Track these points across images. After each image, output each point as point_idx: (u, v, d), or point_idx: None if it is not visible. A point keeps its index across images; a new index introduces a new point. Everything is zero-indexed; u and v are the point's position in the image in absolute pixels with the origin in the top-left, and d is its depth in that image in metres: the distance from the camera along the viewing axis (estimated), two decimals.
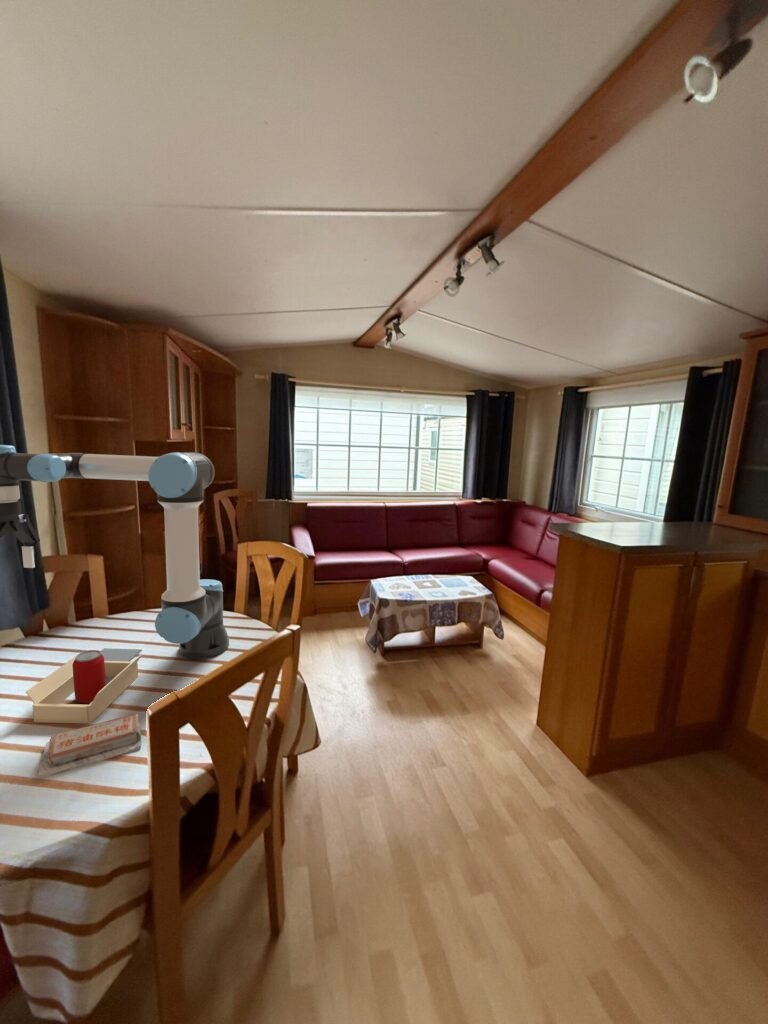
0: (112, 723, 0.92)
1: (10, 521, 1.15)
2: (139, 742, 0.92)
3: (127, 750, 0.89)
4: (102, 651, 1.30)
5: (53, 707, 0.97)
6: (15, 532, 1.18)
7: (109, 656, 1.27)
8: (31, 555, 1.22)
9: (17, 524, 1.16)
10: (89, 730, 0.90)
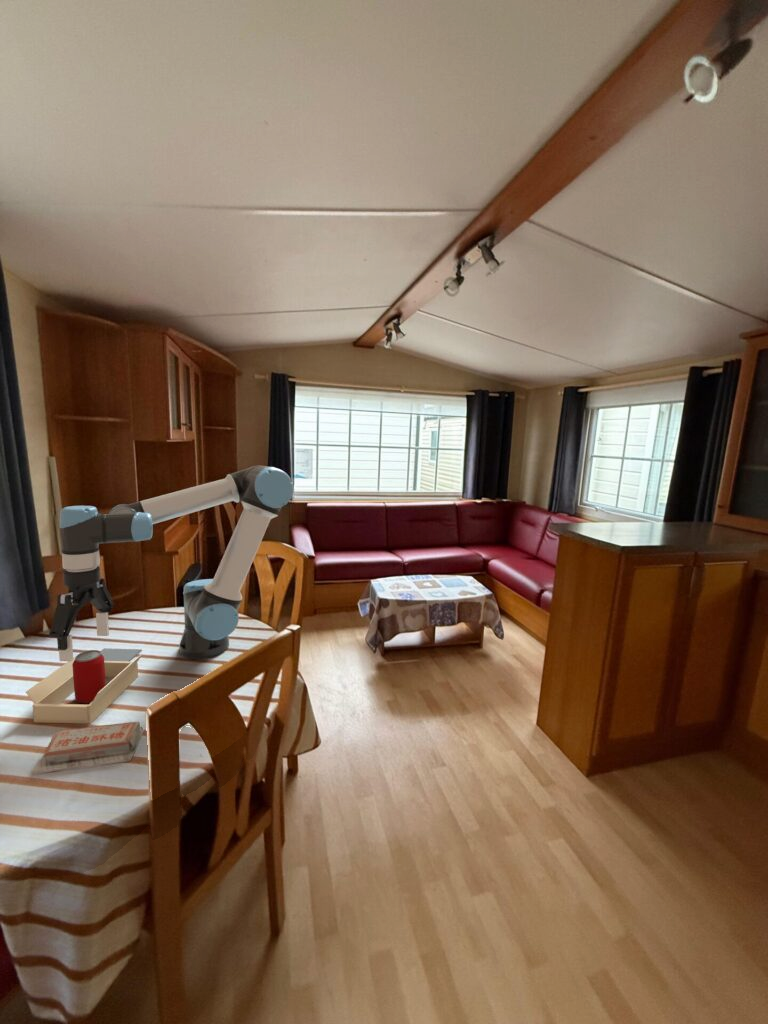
0: (111, 728, 0.91)
1: (89, 589, 1.04)
2: (130, 753, 0.88)
3: (117, 760, 0.86)
4: (102, 651, 1.30)
5: (53, 707, 0.97)
6: (92, 599, 1.07)
7: (109, 656, 1.27)
8: (106, 622, 1.11)
9: (95, 592, 1.05)
10: (89, 732, 0.89)
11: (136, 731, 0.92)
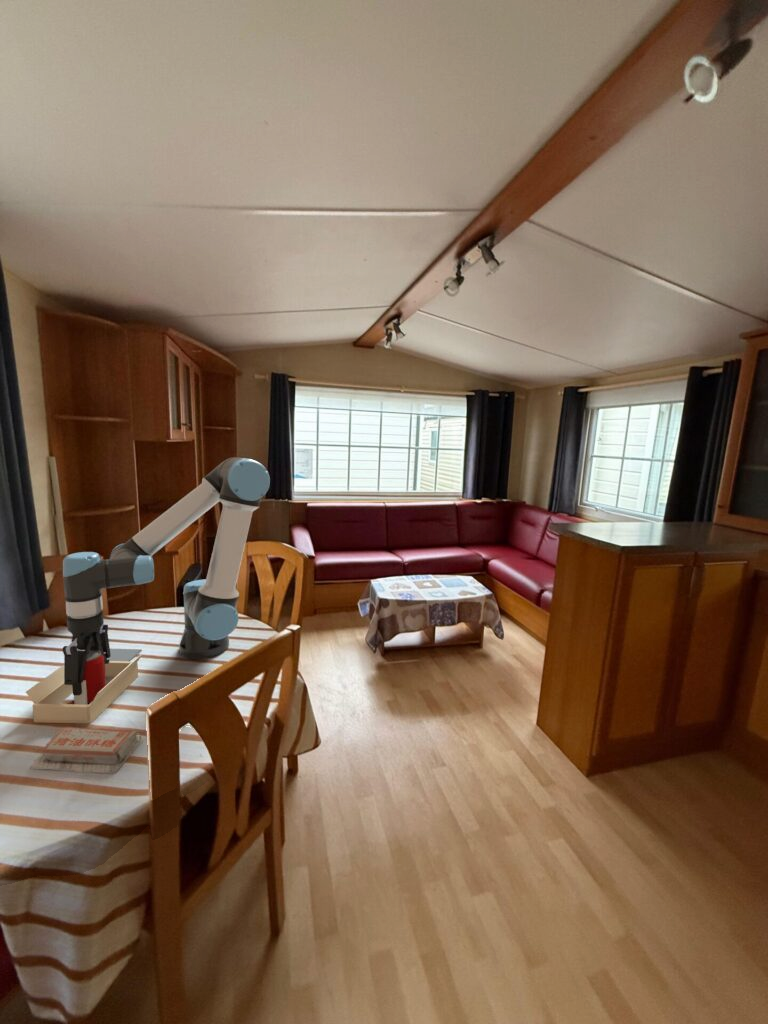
0: (108, 734, 0.89)
1: (92, 630, 1.05)
2: (117, 765, 0.85)
3: (103, 770, 0.84)
4: None
5: (53, 707, 0.97)
6: (92, 646, 1.07)
7: None
8: None
9: (98, 636, 1.07)
10: (87, 734, 0.88)
11: (129, 741, 0.88)
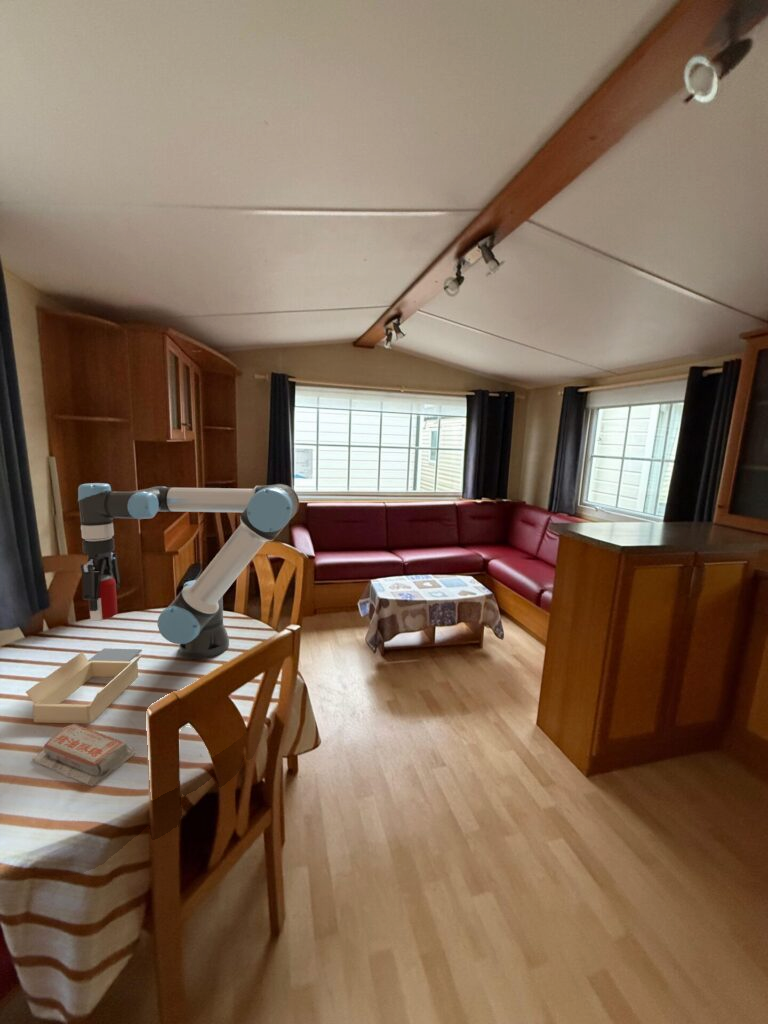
0: (101, 740, 0.87)
1: (105, 554, 1.17)
2: (97, 778, 0.81)
3: (83, 780, 0.81)
4: (102, 651, 1.30)
5: (53, 707, 0.97)
6: (104, 570, 1.19)
7: (109, 656, 1.27)
8: None
9: (110, 561, 1.18)
10: (84, 737, 0.88)
11: (116, 754, 0.85)
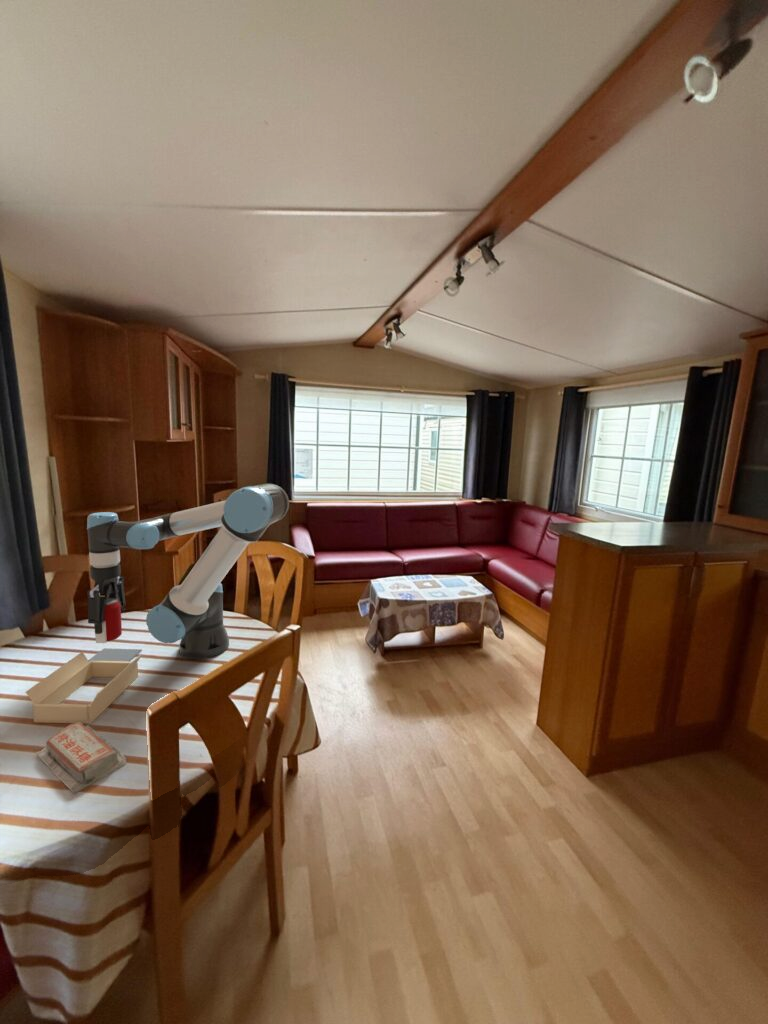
0: (94, 745, 0.86)
1: (111, 579, 1.23)
2: (80, 786, 0.80)
3: (68, 785, 0.80)
4: (102, 651, 1.30)
5: (53, 707, 0.97)
6: (111, 594, 1.25)
7: (109, 656, 1.27)
8: None
9: (116, 585, 1.24)
10: (82, 738, 0.87)
11: (103, 762, 0.83)
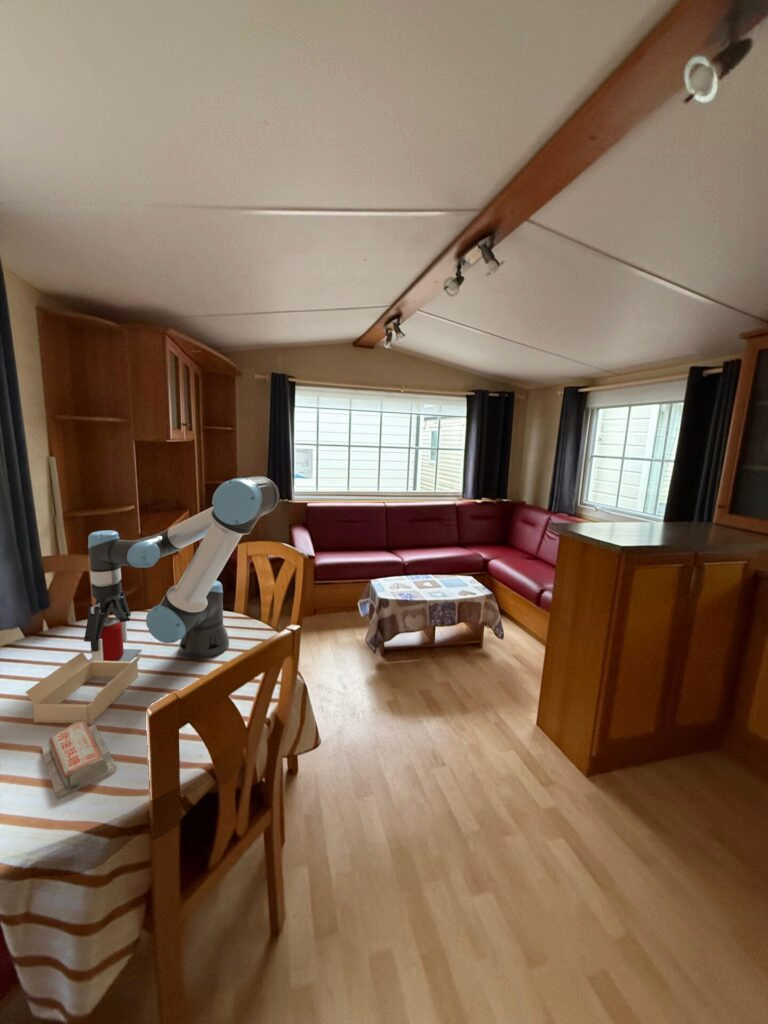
0: (87, 749, 0.84)
1: (112, 599, 1.24)
2: (65, 791, 0.78)
3: (55, 789, 0.79)
4: None
5: (53, 707, 0.97)
6: (114, 609, 1.27)
7: None
8: (124, 630, 1.31)
9: (117, 602, 1.25)
10: (79, 739, 0.87)
11: (90, 768, 0.81)
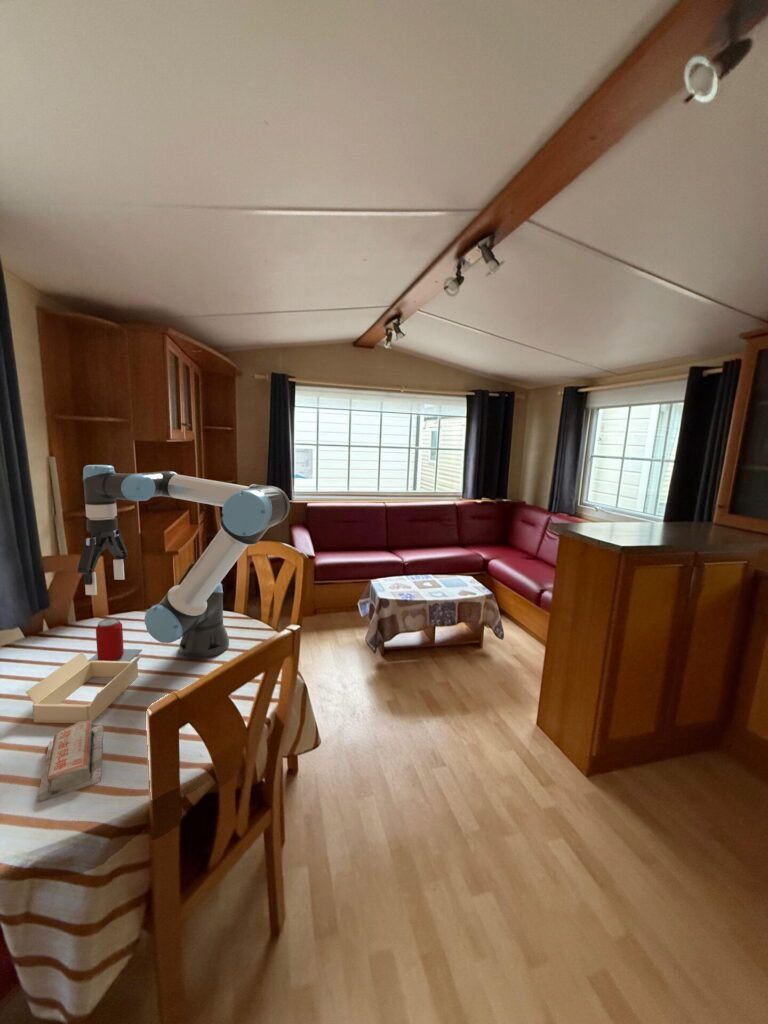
0: (78, 753, 0.83)
1: (108, 536, 1.22)
2: (46, 795, 0.77)
3: (39, 790, 0.78)
4: None
5: (53, 707, 0.97)
6: (110, 546, 1.25)
7: None
8: (122, 568, 1.29)
9: (113, 539, 1.23)
10: (76, 741, 0.86)
11: (72, 775, 0.79)
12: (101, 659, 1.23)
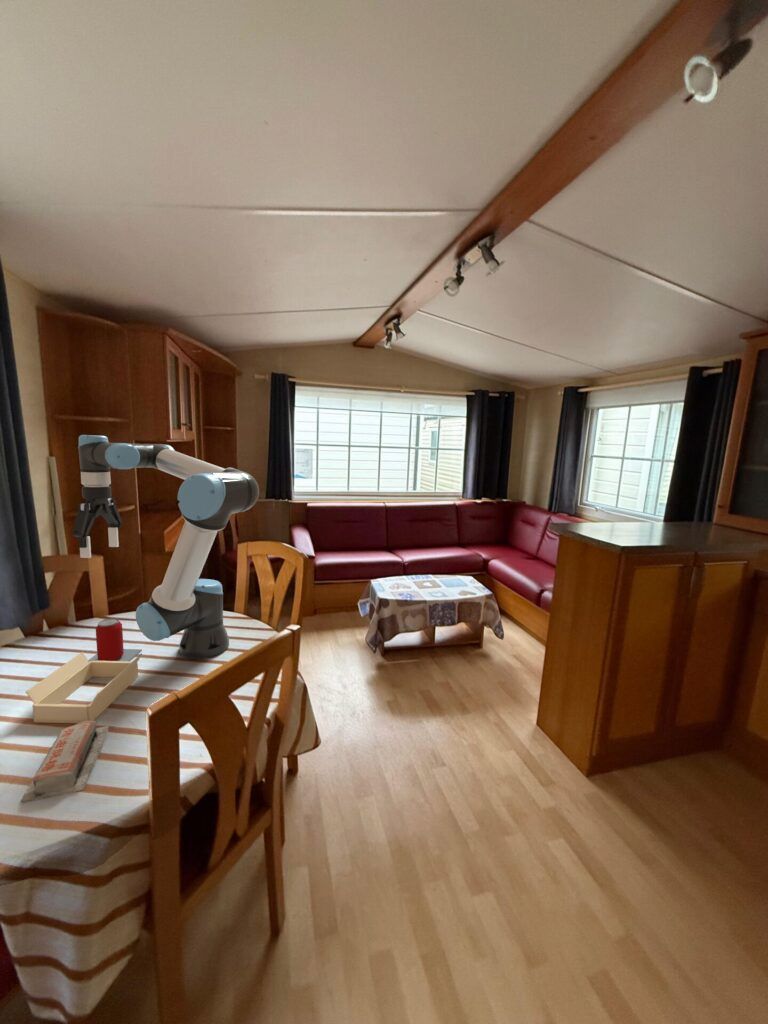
0: (69, 755, 0.83)
1: (102, 504, 1.28)
2: (30, 796, 0.77)
3: (27, 789, 0.78)
4: None
5: (53, 707, 0.97)
6: (104, 514, 1.31)
7: None
8: (116, 535, 1.36)
9: (107, 507, 1.30)
10: (73, 742, 0.86)
11: (55, 780, 0.78)
12: (101, 659, 1.23)
